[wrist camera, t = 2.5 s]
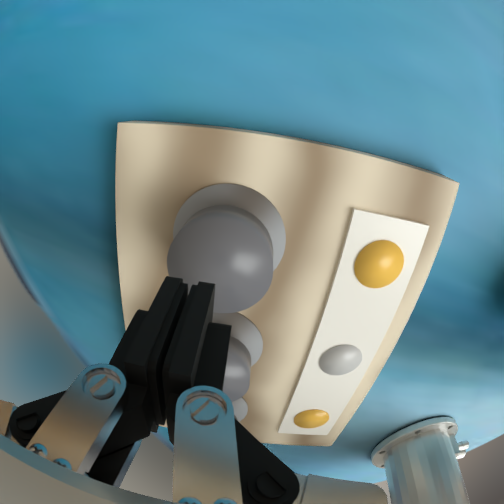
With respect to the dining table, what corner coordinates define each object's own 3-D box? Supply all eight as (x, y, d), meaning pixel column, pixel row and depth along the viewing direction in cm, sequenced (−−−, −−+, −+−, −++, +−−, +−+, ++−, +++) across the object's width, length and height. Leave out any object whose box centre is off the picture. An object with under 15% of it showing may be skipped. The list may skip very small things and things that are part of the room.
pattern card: (427, 224, 16) (430, 226, 16) (326, 432, 26) (327, 435, 26) (353, 207, 16) (355, 210, 16) (277, 430, 26) (277, 433, 25)
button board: (444, 175, 17) (461, 184, 15) (329, 431, 29) (331, 447, 27) (132, 120, 16) (116, 122, 15) (148, 407, 29) (143, 423, 27)
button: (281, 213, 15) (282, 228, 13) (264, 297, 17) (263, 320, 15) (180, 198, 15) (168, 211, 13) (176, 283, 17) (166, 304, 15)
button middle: (256, 337, 18) (255, 360, 17) (246, 386, 21) (244, 408, 19) (176, 323, 18) (168, 345, 17) (177, 375, 21) (171, 395, 19)
